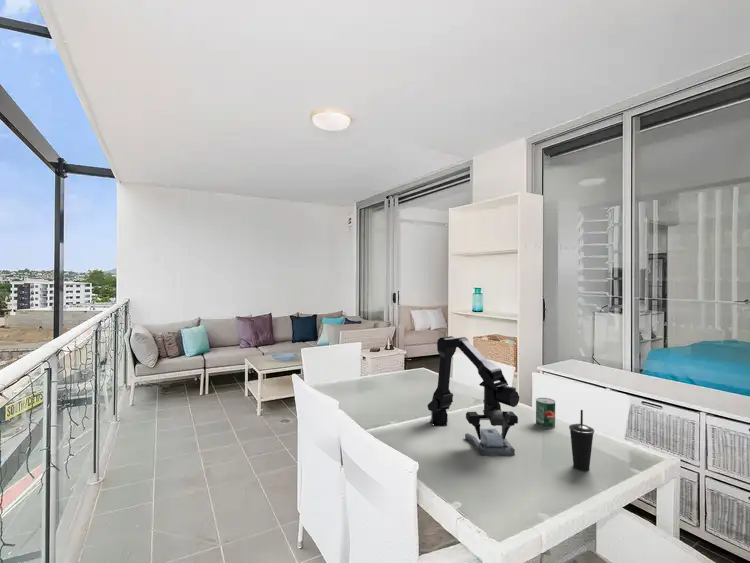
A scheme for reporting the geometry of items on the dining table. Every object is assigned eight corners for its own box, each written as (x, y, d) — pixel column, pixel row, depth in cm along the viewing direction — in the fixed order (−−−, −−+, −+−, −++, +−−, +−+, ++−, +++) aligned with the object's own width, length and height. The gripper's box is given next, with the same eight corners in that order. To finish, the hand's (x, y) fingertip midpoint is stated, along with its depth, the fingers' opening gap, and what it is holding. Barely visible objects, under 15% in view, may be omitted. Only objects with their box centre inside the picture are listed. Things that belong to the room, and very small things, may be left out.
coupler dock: (474, 455, 140) (475, 450, 140) (464, 438, 155) (464, 433, 155) (519, 454, 140) (519, 449, 140) (504, 437, 155) (504, 432, 155)
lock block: (486, 453, 142) (486, 438, 142) (480, 442, 151) (480, 428, 151) (502, 453, 142) (503, 438, 142) (495, 442, 151) (495, 428, 151)
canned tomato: (538, 420, 174) (538, 396, 174) (556, 424, 169) (557, 399, 169) (533, 425, 167) (534, 401, 167) (553, 430, 163) (553, 404, 163)
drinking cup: (564, 462, 135) (564, 406, 134) (584, 461, 135) (585, 406, 135) (577, 473, 127) (578, 414, 127) (599, 472, 128) (599, 413, 127)
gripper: (473, 406, 138) (473, 449, 139) (524, 406, 139) (523, 448, 139) (465, 397, 149) (465, 436, 150) (512, 396, 150) (512, 435, 150)
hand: (491, 439), depth 147 cm, fingers open, 9 cm apart
